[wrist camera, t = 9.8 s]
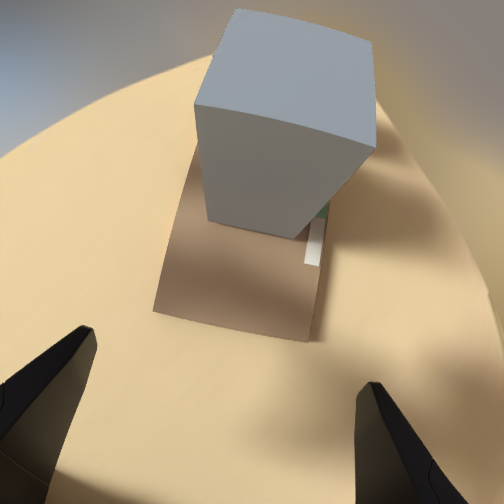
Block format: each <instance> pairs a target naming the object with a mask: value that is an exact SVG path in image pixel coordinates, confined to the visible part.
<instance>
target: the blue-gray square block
mask: <svg viewBox="0 0 504 504" xmlns="http://www.w3.org/2000/svg"><path fill="white" fill-rule="evenodd" d="M194 111H195V120H196V130H197V139H198V148H199V156H200V165H201V173H202V181H203V189H204V197H205V204H206V212H207V219H208V221H211V222H216V223H221V224H225V225H230V226H235V227H240V228H244V229H249V230H254V231H258V232H263V233H267V234H272V235H277V236H281V237H286V238H290V239H294V238H295V237H296V236H297V235H298V234H299V233H300V232H301V231H302V230H303V228H304V227H305V226H306V225H307V224H308V223H309V222H310V221H311V220H312V219H313V218H314V216H315V215H316V214H317V213H318V212H319V211H320V210H321V209H322V208H323V207H324V206H325V204H326V203H327V202H328V201H329V200H330V199H331V198H332V197H333V196H334V195H335V193H336V192H337V191H338V190H339V189H340V188H341V187H342V186H343V185H344V184H345V182H346V181H347V180H348V179H349V178H350V177H351V176H352V175H353V174H354V172H355V171H356V170H357V169H358V168H359V167H360V166H361V165H362V164H363V162H364V161H365V160H366V159H367V158H368V157H369V156H370V155H371V153H372V152H373V151H374V150H375V149H376V100H375V80H374V66H373V54H372V43H371V42H369V41H367V40H364V39H361V38H358V37H355V36H353V35H350V34H347V33H344V32H340V31H337V30H334V29H331V28H327V27H324V26H320V25H316V24H313V23H309V22H305V21H301V20H297V19H293V18H288V17H284V16H279V15H274V14H269V13H263V12H258V11H252V10H245V9H238V8H237V9H236V10H235V12H234V14H233V16H232V18H231V20H230V22H229V24H228V26H227V28H226V30H225V32H224V35H223V37H222V39H221V41H220V43H219V45H218V48H217V50H216V52H215V54H214V57H213V59H212V61H211V63H210V66H209V68H208V70H207V73H206V75H205V78H204V80H203V82H202V85H201V87H200V90H199V92H198V95H197V97H196V100H195V102H194Z"/></svg>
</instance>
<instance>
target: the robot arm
mask: <svg viewBox="0 0 504 504" xmlns="http://www.w3.org/2000/svg"><path fill="white" fill-rule="evenodd" d="M96 351H97V341H96V337H95V333H94V330H93V328H91V327H88V326H85V325H81V326H79V327H78V328H76V329H75V330H74V331H72V332H71V333H69V334H68V335H67V336H65V337H64V338H62V339H61V340H60V341H58V342H57V343H56V344H54V345H53V346H51V347H50V348H49V349H47V350H46V351H45V352H43V353H42V354H41V355H39V356H38V357H37V358H35V359H34V360H33V361H31V362H30V363H29V364H27V365H26V366H25V367H23V368H22V369H21V370H19V371H18V372H17V373H15V374H14V375H13V376H11V377H10V378H9V379H7V380H6V381H5V383H2V384H1V385H0V504H44V503H45V499H46V496H47V492H48V489H49V485H50V482H51V479H52V476H53V473H54V470H55V467H56V464H57V461H58V458H59V455H60V452H61V449H62V446H63V444H64V441H65V438H66V436H67V433H68V430H69V428H70V425H71V422H72V420H73V417H74V415H75V412H76V410H77V407H78V405H79V402H80V400H81V397H82V395H83V392H84V390H85V387H86V384H87V380H88V377H89V373H90V370H91V367H92V364H93V360H94V357H95V354H96ZM354 447H355V490H356V501H355V504H468V502H467V501H466V500H465V499H464V498H463V497H462V495H461V494H460V493H459V492H458V491H457V489H456V488H455V487H454V486H453V485H452V483H451V482H450V481H449V480H448V478H447V477H446V476H445V474H444V473H443V472H442V470H441V469H440V467H439V466H438V465H437V463H436V462H435V460H434V459H432V456H431V454H430V453H429V451H428V450H427V448H426V447H425V445H424V444H423V443H422V441H421V440H420V438H419V437H418V435H417V434H416V432H415V431H414V429H413V428H412V427H411V425H410V424H409V422H408V421H407V419H406V418H405V417H404V415H403V414H402V412H401V411H400V409H399V408H398V407H397V405H396V404H395V402H394V401H393V399H392V398H391V397H390V395H389V394H388V392H387V391H386V390H385V388H384V387H383V385H382V384H381V383H380V382H373V381H370V382H368V383H367V384H366V385H365V386H364V387H363V388H362V390H361V391H360V392H359V393H358V395H357V398H356V415H355V432H354Z"/></svg>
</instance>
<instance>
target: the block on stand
mask: <svg viewBox="0 0 504 504" xmlns="http://www.w3.org/2000/svg"><path fill="white" fill-rule="evenodd" d="M226 28H227V26H226ZM226 28H225V30H226ZM225 30H224V32H225ZM224 32H223V34H222V37H223V35H224ZM222 37H221V39H222ZM221 39H220V41H221ZM220 41H219V43H220ZM219 43H218V45H219ZM218 45H217V48H218ZM217 48H216V50H217ZM216 50H215V52H216ZM215 52H214V54H215ZM214 54H213V57H214ZM329 202H330V200H329V201H328V202H327V203H326V204H325V206H324V207H323V208H322V209H321V210H320V211H319V212H318V213H317V214H316V215H315V216H314V218H313V219H312V220H311V221H310V222H309V223H308V224H307V225H306V226H305V227H304V228H303V230H302V231H301V232H300V233H299V234H298V235H297V236H296V237H295V238H294V239H290V238H286V237H281V236H277V235H272V234H267V233H263V232H258V231H254V230H249V229H244V228H240V227H235V226H230V225H225V224H221V223H216V222H211V221H208V219H207V212H206V204H205V197H204V189H203V181H202V173H201V165H200V156H199V148H198V143H197V146H196V149H195V152H194V155H193V159H192V162H191V165H190V168H189V171H188V175H187V178H186V181H185V185H184V188H183V192H182V195H181V199H180V202H179V206H178V209H177V213H176V216H175V220H174V224H173V228H172V231H171V235H170V239H169V243H168V247H167V251H166V255H165V259H164V263H163V267H162V271H161V276H160V280H159V284H158V289H157V293H156V298H155V303H154V307H153V312H157V313H161V314H166V315H170V316H174V317H178V318H182V319H187V320H191V321H195V322H200V323H204V324H209V325H214V326H218V327H223V328H228V329H233V330H238V331H243V332H248V333H254V334H259V335H265V336H270V337H276V338H282V339H288V340H294V341H300V342H306V343H308V339H309V333H310V328H311V323H312V317H313V312H314V306H315V300H316V294H317V288H318V282H319V275H320V269H321V262H322V256H323V249H324V241H325V234H326V226H327V219H328V211H329Z"/></svg>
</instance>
